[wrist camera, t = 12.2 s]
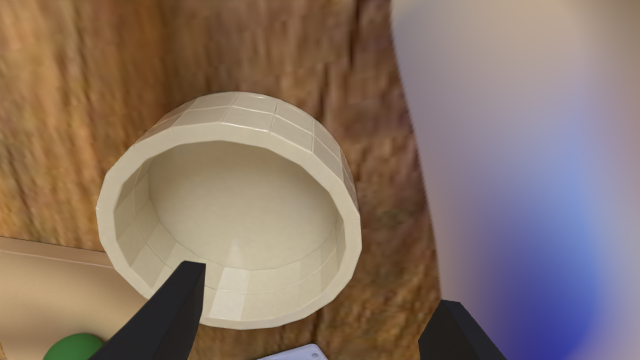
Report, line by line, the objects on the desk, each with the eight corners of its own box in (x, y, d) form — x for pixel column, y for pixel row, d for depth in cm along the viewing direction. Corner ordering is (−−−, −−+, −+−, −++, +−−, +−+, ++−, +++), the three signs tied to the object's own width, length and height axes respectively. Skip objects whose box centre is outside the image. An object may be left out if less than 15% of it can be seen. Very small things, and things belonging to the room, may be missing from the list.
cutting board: (171, 416, 34) (166, 430, 33) (36, 401, 32) (26, 416, 31) (174, 262, 24) (167, 275, 23) (-20, 232, 22) (-36, 245, 21)
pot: (382, 236, 23) (395, 290, 19) (215, 293, 25) (197, 351, 21) (295, 49, 17) (289, 71, 13) (90, 148, 20) (34, 191, 16)
